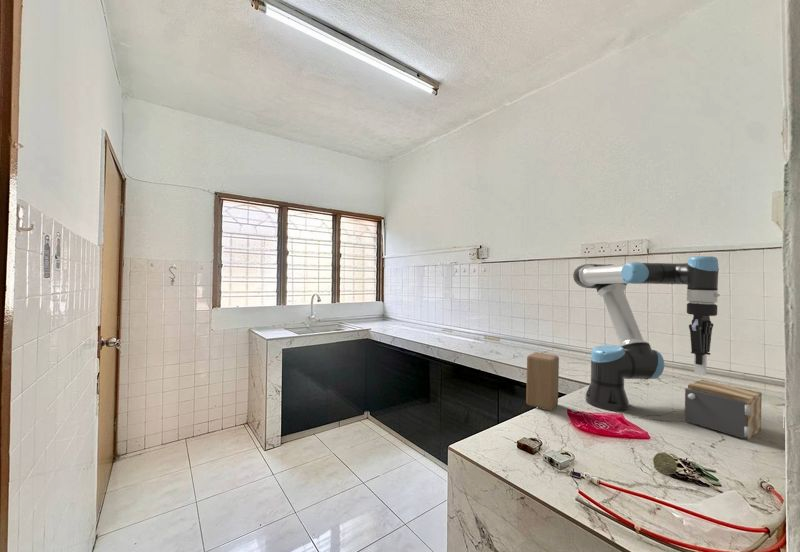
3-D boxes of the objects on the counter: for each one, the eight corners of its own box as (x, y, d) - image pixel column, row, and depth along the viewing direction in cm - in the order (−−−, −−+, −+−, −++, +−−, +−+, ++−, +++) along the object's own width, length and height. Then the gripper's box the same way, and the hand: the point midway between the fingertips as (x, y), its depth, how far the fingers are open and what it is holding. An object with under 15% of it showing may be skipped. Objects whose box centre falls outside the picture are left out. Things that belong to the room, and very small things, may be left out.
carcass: (747, 439, 108) (748, 399, 108) (686, 420, 122) (686, 385, 122) (760, 430, 115) (761, 392, 115) (701, 413, 129) (702, 379, 129)
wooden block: (533, 398, 141) (534, 351, 141) (558, 404, 135) (559, 355, 135) (525, 405, 133) (526, 355, 133) (551, 411, 127) (552, 359, 127)
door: (747, 441, 105) (748, 404, 105) (682, 421, 119) (683, 389, 119) (750, 438, 107) (750, 403, 107) (686, 419, 121) (686, 388, 121)
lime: (679, 479, 85) (679, 459, 85) (656, 474, 87) (657, 455, 87) (672, 469, 90) (673, 451, 90) (651, 465, 91) (651, 447, 91)
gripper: (709, 304, 104) (707, 380, 104) (724, 303, 110) (722, 374, 110) (679, 302, 110) (677, 373, 110) (695, 301, 117) (693, 368, 117)
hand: (700, 373), depth 110 cm, fingers closed
